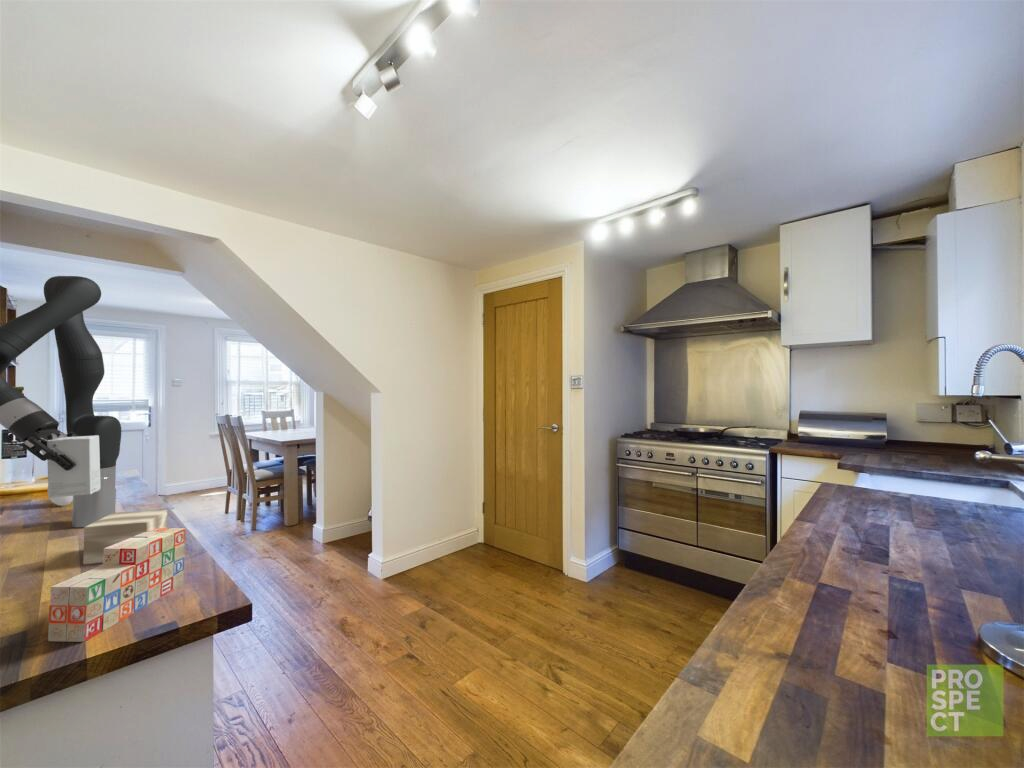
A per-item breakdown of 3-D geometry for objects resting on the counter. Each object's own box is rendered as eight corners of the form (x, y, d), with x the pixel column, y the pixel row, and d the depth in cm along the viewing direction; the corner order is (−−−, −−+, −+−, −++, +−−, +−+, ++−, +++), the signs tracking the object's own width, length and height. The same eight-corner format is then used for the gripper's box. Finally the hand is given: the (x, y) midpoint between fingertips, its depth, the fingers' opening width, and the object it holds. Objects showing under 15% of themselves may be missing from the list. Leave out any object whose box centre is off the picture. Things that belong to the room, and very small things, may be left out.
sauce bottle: (55, 503, 148) (56, 453, 148) (84, 501, 151) (86, 452, 152) (41, 509, 141) (43, 456, 141) (72, 507, 144) (74, 455, 145)
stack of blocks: (84, 643, 69) (87, 569, 69) (46, 643, 69) (49, 568, 69) (184, 583, 90) (186, 527, 91) (155, 583, 90) (157, 526, 90)
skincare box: (100, 490, 112) (102, 435, 112) (89, 495, 106) (91, 437, 106) (57, 492, 108) (59, 435, 108) (44, 498, 102) (46, 438, 103)
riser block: (111, 546, 110) (112, 513, 110) (166, 541, 114) (167, 509, 114) (83, 565, 99) (84, 527, 99) (145, 558, 103) (146, 522, 103)
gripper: (14, 411, 98) (74, 459, 101) (62, 408, 112) (113, 450, 115) (-15, 433, 97) (46, 482, 100) (36, 427, 111) (89, 470, 114)
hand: (82, 465), depth 107 cm, fingers closed on skincare box, 6 cm apart
